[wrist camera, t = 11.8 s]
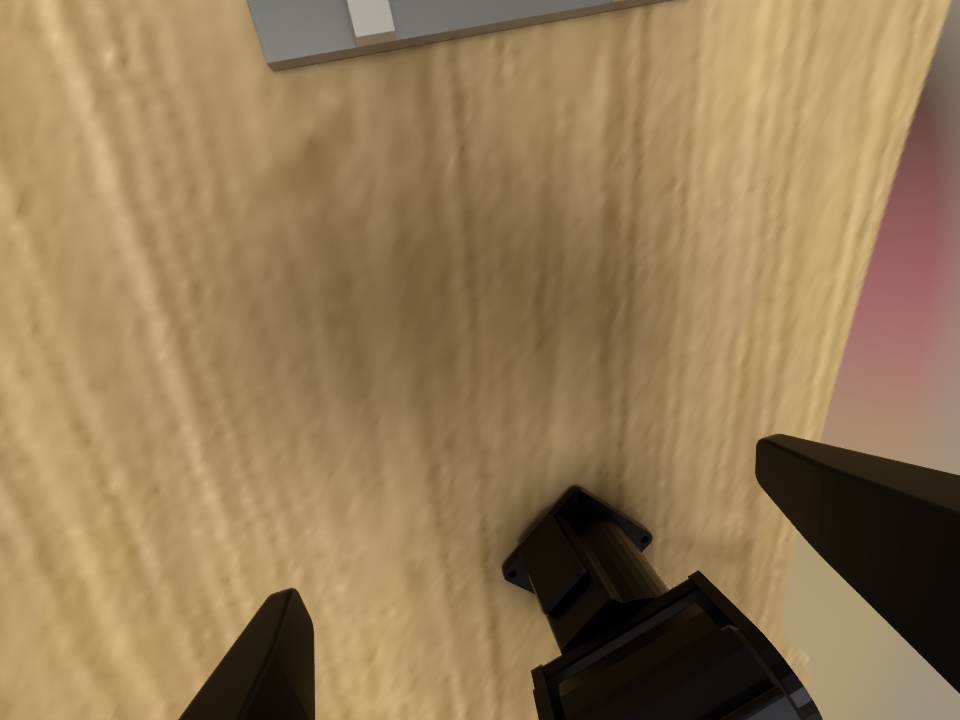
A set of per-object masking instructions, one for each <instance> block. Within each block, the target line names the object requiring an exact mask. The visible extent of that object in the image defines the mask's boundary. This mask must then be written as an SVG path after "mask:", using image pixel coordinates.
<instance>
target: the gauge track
mask: <svg viewBox="0 0 960 720" xmlns="http://www.w3.org/2000/svg"><path fill="white" fill-rule="evenodd" d="M664 1H670V0H247V3H248V6H249V10H250V13H251V16H252V19H253V22H254V25H255V28H256V31H257V35H258V38H259V41H260V44H261V47H262V50H263V53H264V57H265V60H266V63H267V64H268V65H269V67H270V68H271V69H272V70H273V71H277V70H282V69H288V68H294V67H299V66H305V65H310V64H316V63H322V62H327V61H333V60H339V59H344V58H350V57H355V56H361V55H367V54H372V53H378V52H384V51H389V50H395V49H400V48H406V47H412V46H417V45H423V44H428V43H434V42H440V41H445V40H451V39H457V38H462V37H468V36H473V35H479V34H485V33H490V32H496V31H501V30H507V29H513V28H518V27H524V26H530V25H535V24H541V23H546V22H552V21H558V20H563V19H569V18H575V17H580V16H586V15H591V14H597V13H603V12H608V11H614V10H619V9H625V8H631V7H636V6H642V5H648V4H653V3H659V2H664Z"/></svg>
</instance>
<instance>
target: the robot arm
mask: <svg viewBox="0 0 960 720" xmlns="http://www.w3.org/2000/svg"><path fill="white" fill-rule="evenodd" d="M755 475H756V478H757V481H758V483H759V484H760V486H761V487H762V488H763V490H764V491H765V492H766V493H767V494H768V495H769V497H770V498H771V499H772V500H773V501H774V503H775V504H776V505H777V506H778V507H779V508H780V510H781V511H782V512H783V513H784V514H785V516H786V517H787V518H788V519H789V520H790V521H791V523H792V524H793V525H794V526H795V527H796V529H797V530H798V531H799V532H800V533H801V534H802V536H803V537H804V538H805V539H806V540H807V541H808V543H809V544H810V545H811V546H812V547H813V548H814V549H815V550H816V551H817V552H818V554H819V555H820V556H821V557H822V558H823V559H824V560H825V561H826V562H827V563H828V564H829V565H830V566H831V567H832V568H833V569H834V570H835V571H836V572H837V573H838V574H839V575H840V576H841V577H842V578H843V579H844V580H846V582H847V583H848V584H850V586H851V587H853V588H854V590H856V591H857V592H858V593H859V594H860V595H861V596H862V597H863V598H864V599H865V600H866V601H867V602H868V603H869V604H870V605H871V606H872V607H873V608H874V609H875V610H876V611H877V612H878V613H879V614H880V615H881V616H882V617H883V618H884V619H885V620H886V621H887V622H888V623H889V624H890V625H891V626H892V627H893V628H894V629H895V630H896V631H897V632H898V633H899V634H900V635H901V636H902V637H903V638H904V639H905V640H906V641H907V642H908V643H909V644H910V645H911V646H912V647H913V648H914V649H915V650H916V651H917V652H918V653H919V654H920V655H921V656H922V657H923V658H924V659H925V660H926V661H927V662H928V663H929V664H930V665H931V666H932V667H933V668H934V669H935V670H936V671H937V672H938V673H939V674H940V675H941V676H942V677H943V678H944V679H945V680H946V681H947V682H948V683H949V684H951V686H952V687H953V688H954V689H956V690H957V692H959V693H960V475H956V474H951V473H947V472H942V471H938V470H934V469H930V468H925V467H921V466H917V465H913V464H908V463H904V462H900V461H895V460H891V459H887V458H883V457H878V456H873V455H869V454H865V453H861V452H856V451H852V450H848V449H844V448H839V447H835V446H831V445H827V444H822V443H818V442H814V441H810V440H805V439H801V438H797V437H792V436H788V435H784V434H774V435H771V436H768V437H764V438H762V439H760V440H758V442H757V444H756V463H755ZM578 495H579V497H577V498H576V499H574V498H575V497H576V496H578ZM642 537H643V538H642ZM652 538H653V537H652V534H651V533H650V532H649V531H648V529H646V528H645V527H643V526H642V525H640V524H638V523H637V522H635V521H634V520H632V519H630V518H629V517H627V516H626V515H624V514H622V513H621V512H619V511H618V510H616V509H614V508H613V507H611V506H610V505H608V504H606V503H605V502H603V501H601V500H600V499H598V498H597V497H595V496H593V495H592V494H590V493H589V492H587V491H585V490H584V489H582V488H580V487H573V488H571V489H570V490H569V491H568V492H567V493H566V494H565V495H564V497H563V498H562V499H561V500H560V501H559V502H558V503H557V505H556V506H555V507H554V508H553V509H552V510H551V512H550V513H549V514H548V515H547V516H546V517H545V518H544V520H543V521H542V522H541V523H540V524H539V525H538V527H537V528H536V529H535V530H534V531H533V532H532V533H531V535H530V536H529V537H528V538H527V539H526V540H525V542H524V543H523V544H522V545H521V546H520V547H519V549H518V550H517V551H516V552H515V553H514V554H513V555H512V557H511V558H510V559H509V560H508V561H507V562H506V564H505V565H504V566H503V568H502V573H503V576H504V578H505V580H507V581H508V582H511V583H513V584H515V585H517V586H519V587H521V588H523V589H525V590H527V591H530V592H532V593H534V594H535V595H536V597H537V600H538V602H539V605H540V607H541V609H542V612H543V613H544V614H545V615H546V617H547V620H548V622H549V625H550V627H551V630H552V632H553V635H554V637H555V639H556V642H557V644H558V647H559V649H560V652H561V654H562V655H561V656H559V657H557V658H556V659H554V660H552V661H551V662H549V663H547V664H546V665H544V666H543V665H542V664H541V665H540V666H538V667H536V668H535V669H533V670H531V673H532V678H533V683H534V687H535V689H534V690H533V694H534V699H535V703H536V708H537V713H538V718H539V720H823V719H822V717H821V715H820V712H819V710H818V708H817V707H816V705H815V703H814V701H813V700H812V698H811V697H810V695H809V693H808V692H807V690H806V689H805V687H804V686H803V684H802V683H801V681H800V680H799V679H798V677H797V676H796V674H795V673H794V672H793V670H792V669H791V668H790V666H789V665H788V664H787V662H786V661H785V660H784V658H783V657H782V656H781V655H780V653H779V652H778V651H777V650H776V648H775V647H774V646H773V645H772V644H771V642H770V641H769V640H768V639H767V638H766V637H765V635H764V634H763V633H762V632H761V631H760V630H759V629H758V628H757V627H756V626H755V625H754V624H753V623H752V622H751V621H750V620H749V619H748V618H747V617H746V616H745V615H744V614H743V613H742V612H741V611H740V610H739V609H738V608H737V607H736V606H735V605H734V604H733V603H732V602H731V601H730V600H729V599H728V598H727V597H725V596H724V595H723V594H722V593H721V592H720V591H719V590H718V589H717V588H716V587H715V586H714V585H713V584H712V583H711V582H710V581H709V580H708V579H707V578H706V577H705V576H704V575H703V574H702V573H701V572H700V571H699V570H698V571H696V572H695V573H693V574H691V575H690V576H688V578H689V579H688V580H686V581H684V582H682V583H681V584H679V585H677V586H676V587H674V588H672V589H671V590H668V588H667V587H666V586H665V584H664V583H663V582H662V580H661V579H660V577H659V576H658V575H657V573H656V572H655V571H654V569H653V568H652V567H651V565H650V564H649V562H648V561H647V560H646V558H645V557H644V556H643V554H642V551H643V550H644V549H645V548H646V547H647V546H648V545H649V544H650V543H651V541H652ZM513 570H514V571H513ZM510 571H513V572H510ZM178 720H315V665H314V628H313V623H312V620H311V617H310V615H309V613H308V611H307V609H306V607H305V605H304V603H303V601H302V599H301V596H300V594H299V592H298V591H297V590H296V589H295V588H289V589H286V590H282V591H279V592H276V593H273V594H271V595H270V596H269V597H268V598H267V599H266V600H265V602H264V603H263V605H262V606H261V607H260V609H259V610H258V611H257V613H256V614H255V615H254V617H253V618H252V620H251V621H250V622H249V624H248V625H247V626H246V628H245V629H244V630H243V632H242V633H241V635H240V636H239V637H238V639H237V640H236V641H235V643H234V644H233V645H232V647H231V648H230V650H229V651H228V652H227V654H226V655H225V656H224V658H223V659H222V660H221V662H220V663H219V665H218V666H217V667H216V669H215V670H214V671H213V673H212V674H211V675H210V677H209V678H208V680H207V681H206V682H205V684H204V685H203V686H202V688H201V689H200V690H199V692H198V693H197V695H196V696H195V697H194V699H193V700H192V701H191V703H190V704H189V705H188V707H187V708H186V710H185V711H184V712H183V714H182V715H181V716H180V718H179V719H178Z"/></svg>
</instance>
